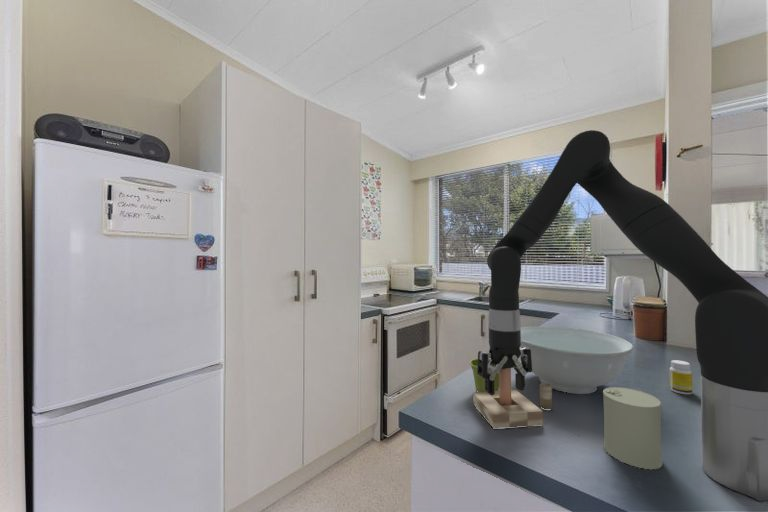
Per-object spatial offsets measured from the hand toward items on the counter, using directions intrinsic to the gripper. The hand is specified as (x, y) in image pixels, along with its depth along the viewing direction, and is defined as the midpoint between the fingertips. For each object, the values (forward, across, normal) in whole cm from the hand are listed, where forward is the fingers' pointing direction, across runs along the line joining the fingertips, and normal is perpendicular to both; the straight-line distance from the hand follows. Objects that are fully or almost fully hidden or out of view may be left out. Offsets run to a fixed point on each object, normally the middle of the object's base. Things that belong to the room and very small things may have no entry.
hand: (505, 391), depth 79 cm
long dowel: (+6, 0, 0) cm, 6 cm away
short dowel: (+6, +12, 0) cm, 14 cm away
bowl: (+6, +30, +11) cm, 33 cm away
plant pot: (+6, +3, +13) cm, 14 cm away
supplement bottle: (+6, +56, -4) cm, 57 cm away
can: (+6, +14, -21) cm, 26 cm away
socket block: (+6, 0, 0) cm, 6 cm away
